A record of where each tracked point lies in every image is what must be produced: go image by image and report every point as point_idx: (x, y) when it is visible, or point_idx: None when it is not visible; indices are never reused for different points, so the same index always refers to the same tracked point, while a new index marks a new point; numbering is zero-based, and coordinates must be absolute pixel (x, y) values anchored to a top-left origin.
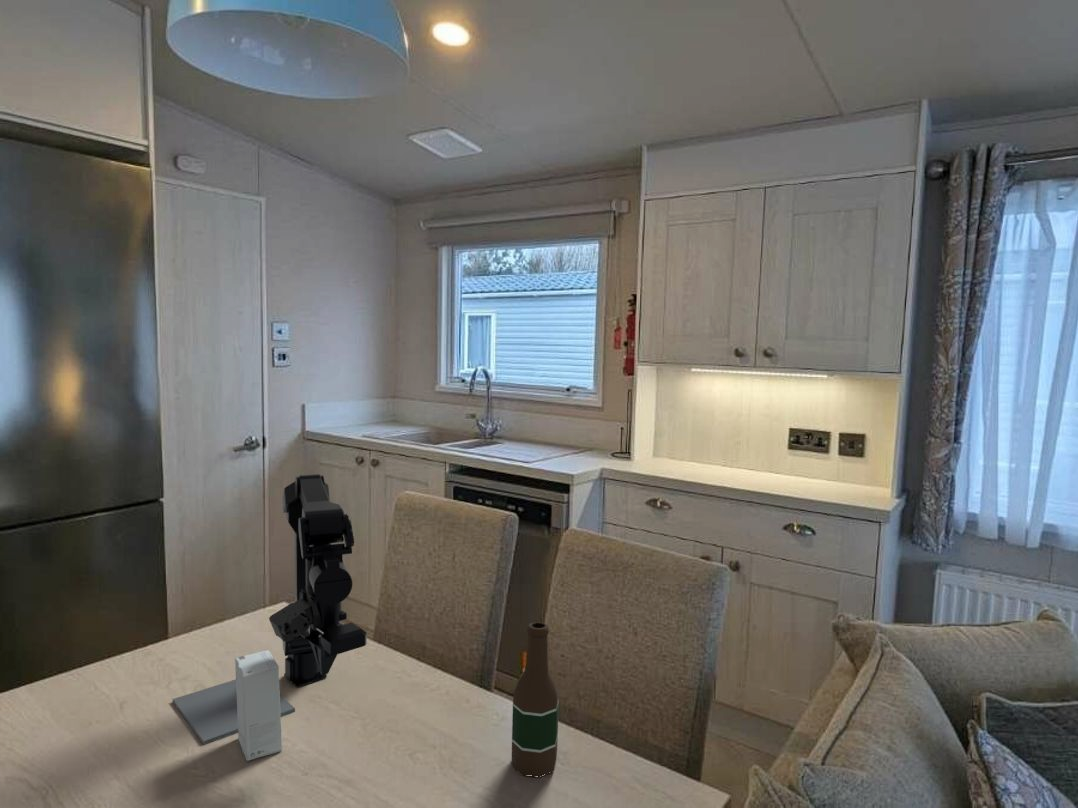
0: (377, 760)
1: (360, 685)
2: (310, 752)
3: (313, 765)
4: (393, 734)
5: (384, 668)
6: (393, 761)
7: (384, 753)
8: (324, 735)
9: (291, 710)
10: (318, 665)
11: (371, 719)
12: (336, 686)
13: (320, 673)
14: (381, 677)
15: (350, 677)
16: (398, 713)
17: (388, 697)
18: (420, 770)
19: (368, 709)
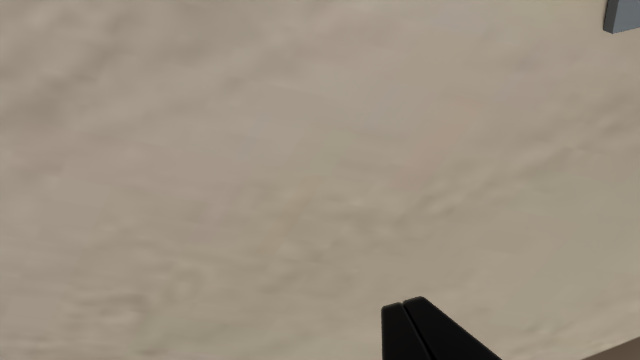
0: (142, 217)
1: (574, 244)
2: (302, 22)
3: (205, 12)
4: (266, 278)
5: (600, 308)
6: (116, 256)
7: (174, 241)
8: (383, 95)
9: (612, 18)
10: (457, 351)
11: (381, 241)
12: (627, 185)
13: (415, 298)
14: (566, 295)
15: (636, 228)
16: (365, 304)
17: (460, 295)
18: (37, 308)
19: (439, 242)
